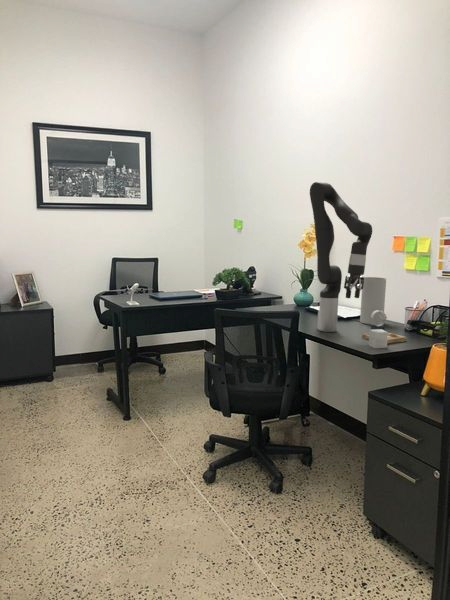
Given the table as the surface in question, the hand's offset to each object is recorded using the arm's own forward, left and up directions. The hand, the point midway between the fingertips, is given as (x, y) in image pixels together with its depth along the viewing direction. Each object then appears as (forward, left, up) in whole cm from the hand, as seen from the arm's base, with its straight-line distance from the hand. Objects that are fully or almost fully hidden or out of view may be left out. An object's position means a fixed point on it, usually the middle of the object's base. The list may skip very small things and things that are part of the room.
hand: (352, 298), depth 229 cm
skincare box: (+19, -2, -19) cm, 27 cm away
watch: (-3, +22, -19) cm, 30 cm away
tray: (+11, +11, -19) cm, 25 cm away
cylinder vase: (-21, +37, -19) cm, 47 cm away
